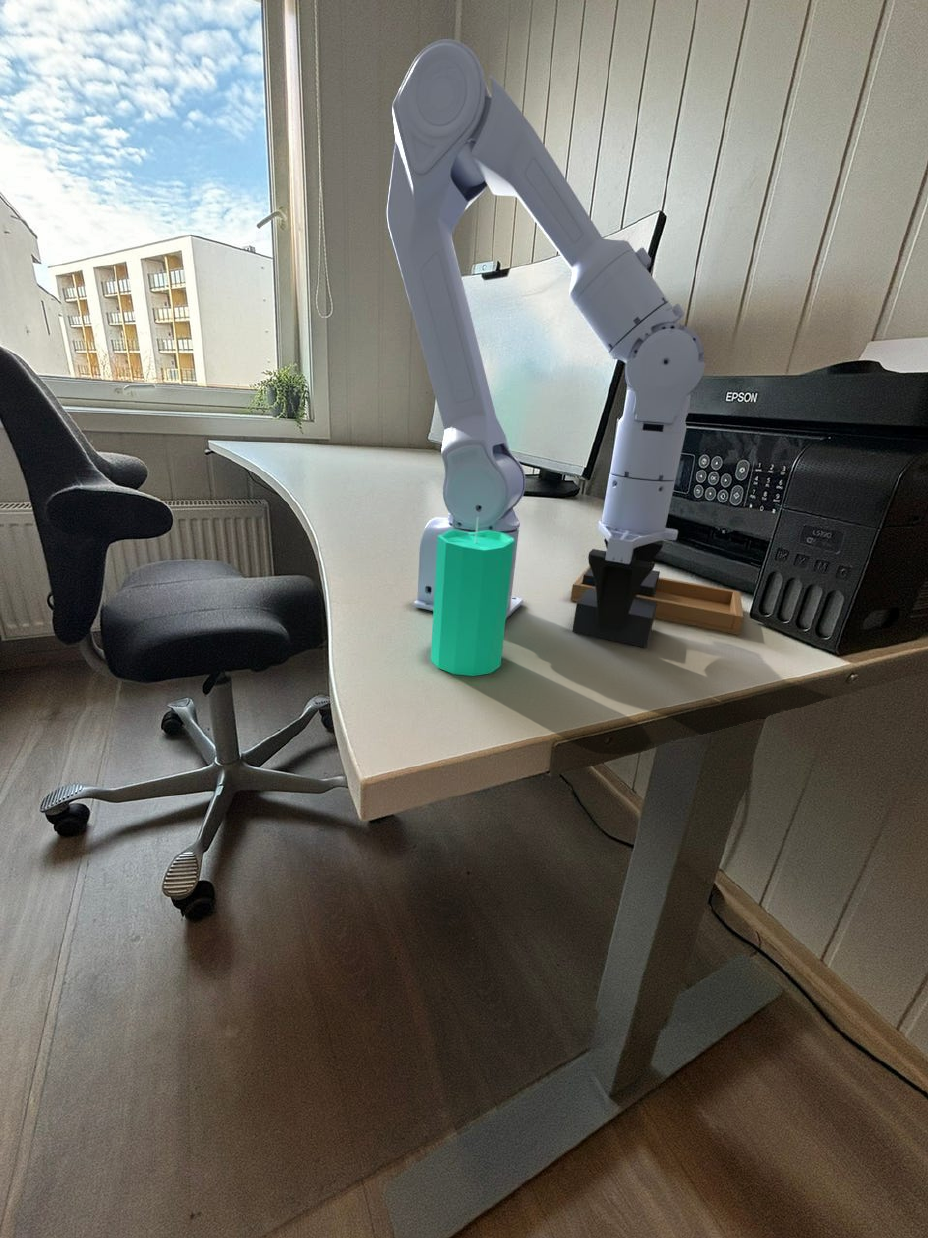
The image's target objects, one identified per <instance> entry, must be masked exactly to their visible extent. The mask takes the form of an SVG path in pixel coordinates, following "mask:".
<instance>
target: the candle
mask: <svg viewBox="0 0 928 1238" xmlns="http://www.w3.org/2000/svg"><path fill="white" fill-rule="evenodd" d="M478 520H479V517H477V522H476V532H469V533H467V532H462V531H457V530H452V529H451V530H449V531H447V532H445V533H443V534H441V535H439V536H438V539H437V557H436V575H435V593H434V611H432V614H433V615H432V633H431V647H430V648H431V650H430V661H431V663H433V664H434V665H435V666H436V668H438V669H439V670H442V671H444V672H448V673H450V674H453V675H457V676H458V675H460V676H471V677H476V676H482V675H488V674H492V673H493V672H495V671H496V670H498V669H499V668H501V667H502V666H501V665H502V657H503V655H502V654H503V646H504V637H505V636H504V635H505V627H506V621H507V618H506V611H507V601H508V592H509V583H510V574H511V565H512V556H513V546H514V538H512V537H511V536H509V535H507V534H505V533H502V532H496V531H489V530H485V531H478Z"/></svg>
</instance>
